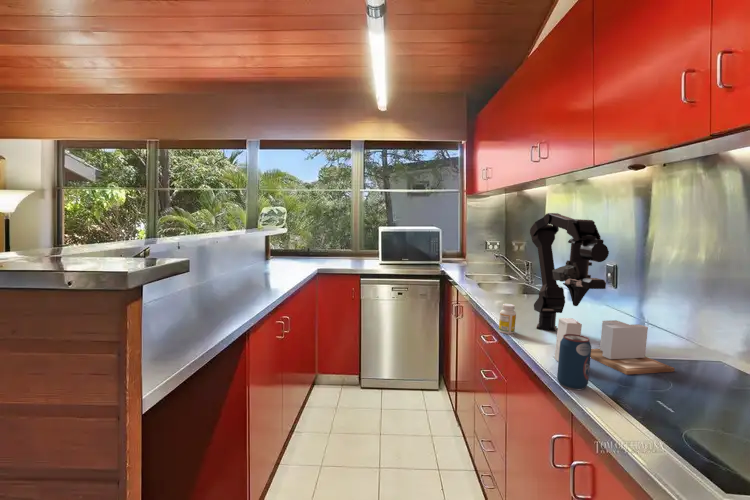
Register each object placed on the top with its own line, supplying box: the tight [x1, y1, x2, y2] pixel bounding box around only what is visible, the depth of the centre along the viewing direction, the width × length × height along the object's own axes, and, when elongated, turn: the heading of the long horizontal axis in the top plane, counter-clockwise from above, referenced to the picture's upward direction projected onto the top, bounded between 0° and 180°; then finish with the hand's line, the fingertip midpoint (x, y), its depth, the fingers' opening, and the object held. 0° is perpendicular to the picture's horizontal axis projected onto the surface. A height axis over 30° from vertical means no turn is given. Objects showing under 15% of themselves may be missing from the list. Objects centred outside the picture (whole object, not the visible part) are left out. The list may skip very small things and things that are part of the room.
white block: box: [599, 319, 649, 359], centre depth 132 cm, size 8×12×9 cm, turn 105°
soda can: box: [556, 334, 592, 390], centre depth 109 cm, size 7×7×12 cm
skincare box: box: [554, 317, 583, 362], centre depth 126 cm, size 6×4×12 cm
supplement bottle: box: [498, 303, 517, 335], centre depth 156 cm, size 5×5×10 cm
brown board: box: [590, 348, 675, 375], centre depth 129 cm, size 18×16×1 cm
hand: (575, 305), depth 147 cm, fingers closed
